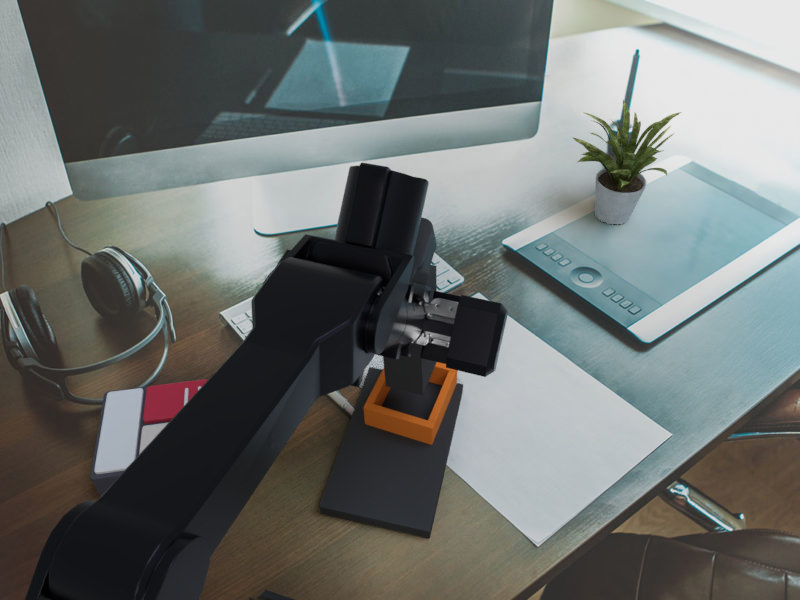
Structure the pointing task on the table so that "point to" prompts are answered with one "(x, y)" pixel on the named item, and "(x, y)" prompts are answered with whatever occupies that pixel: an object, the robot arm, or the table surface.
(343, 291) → the robot arm
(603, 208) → the house plant
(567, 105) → the table surface
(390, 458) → the base pad
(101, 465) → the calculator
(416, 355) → the dark gray block
